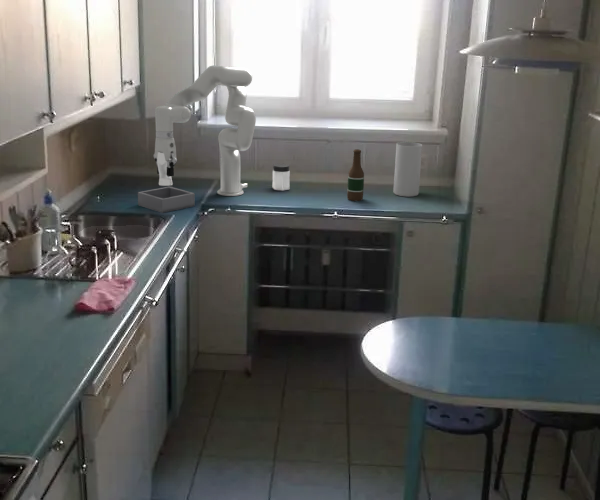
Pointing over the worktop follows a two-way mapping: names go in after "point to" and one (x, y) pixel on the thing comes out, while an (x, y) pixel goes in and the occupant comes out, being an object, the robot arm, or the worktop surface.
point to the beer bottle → (355, 178)
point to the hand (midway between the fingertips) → (165, 174)
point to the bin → (166, 199)
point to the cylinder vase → (407, 169)
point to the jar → (281, 177)
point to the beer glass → (163, 170)
